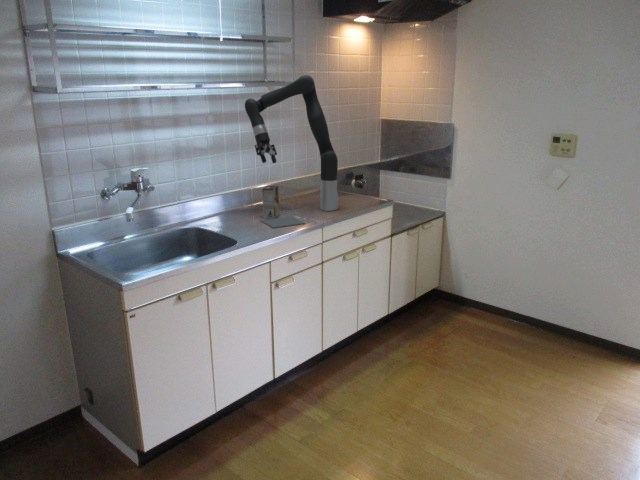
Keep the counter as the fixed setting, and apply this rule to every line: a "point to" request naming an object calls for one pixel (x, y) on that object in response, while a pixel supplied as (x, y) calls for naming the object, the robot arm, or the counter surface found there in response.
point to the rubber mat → (282, 222)
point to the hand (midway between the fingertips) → (269, 162)
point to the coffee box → (270, 202)
